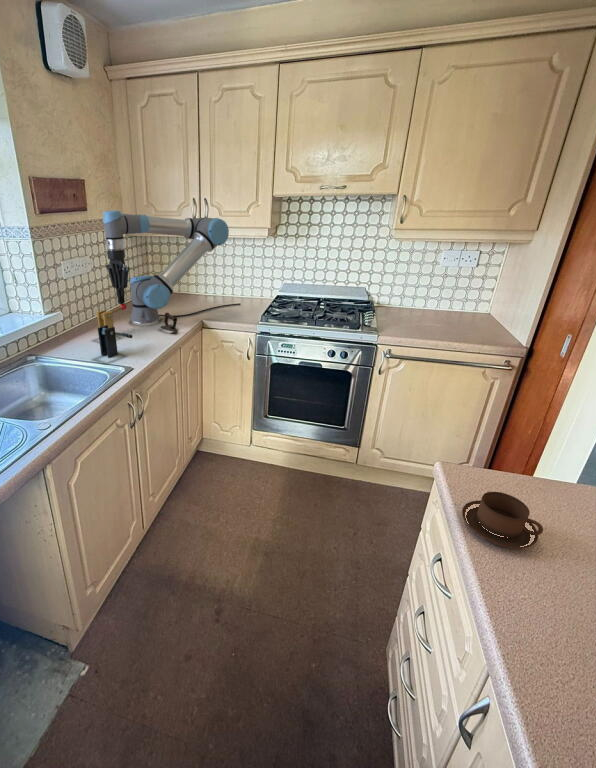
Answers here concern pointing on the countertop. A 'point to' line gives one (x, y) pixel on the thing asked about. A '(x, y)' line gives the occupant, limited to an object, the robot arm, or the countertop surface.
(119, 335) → the lever grey
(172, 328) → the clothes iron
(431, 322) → the countertop surface
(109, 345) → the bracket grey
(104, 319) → the bracket brass
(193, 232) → the robot arm
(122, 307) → the lever brass
